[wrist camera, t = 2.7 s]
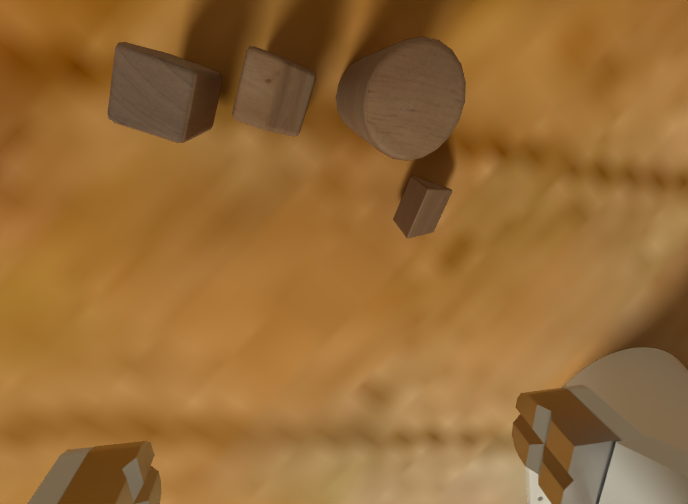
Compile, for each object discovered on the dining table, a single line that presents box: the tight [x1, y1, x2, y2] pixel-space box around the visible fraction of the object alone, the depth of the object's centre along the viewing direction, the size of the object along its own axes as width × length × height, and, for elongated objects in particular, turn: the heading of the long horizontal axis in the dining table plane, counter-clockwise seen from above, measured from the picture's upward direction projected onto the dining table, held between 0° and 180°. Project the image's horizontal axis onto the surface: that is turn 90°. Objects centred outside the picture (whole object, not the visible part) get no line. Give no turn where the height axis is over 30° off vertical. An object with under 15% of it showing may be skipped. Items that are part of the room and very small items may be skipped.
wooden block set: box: [108, 37, 466, 238], centre depth 19 cm, size 18×9×10 cm, turn 71°
